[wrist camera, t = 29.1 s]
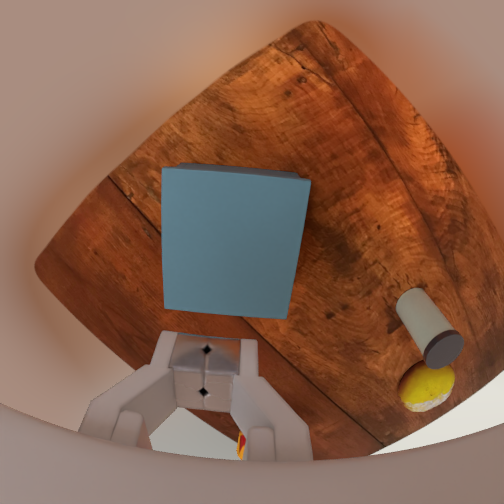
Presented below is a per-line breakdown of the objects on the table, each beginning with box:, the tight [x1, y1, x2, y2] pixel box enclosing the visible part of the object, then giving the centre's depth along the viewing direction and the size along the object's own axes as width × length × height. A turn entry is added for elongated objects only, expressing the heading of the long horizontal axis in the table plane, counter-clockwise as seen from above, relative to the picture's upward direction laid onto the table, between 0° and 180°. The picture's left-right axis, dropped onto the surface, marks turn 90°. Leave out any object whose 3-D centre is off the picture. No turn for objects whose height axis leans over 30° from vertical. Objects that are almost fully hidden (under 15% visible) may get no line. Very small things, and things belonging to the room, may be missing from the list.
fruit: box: [398, 360, 455, 412], centre depth 45 cm, size 11×10×8 cm
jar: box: [396, 288, 464, 369], centre depth 36 cm, size 6×6×11 cm
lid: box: [161, 167, 311, 319], centre depth 29 cm, size 14×13×1 cm
